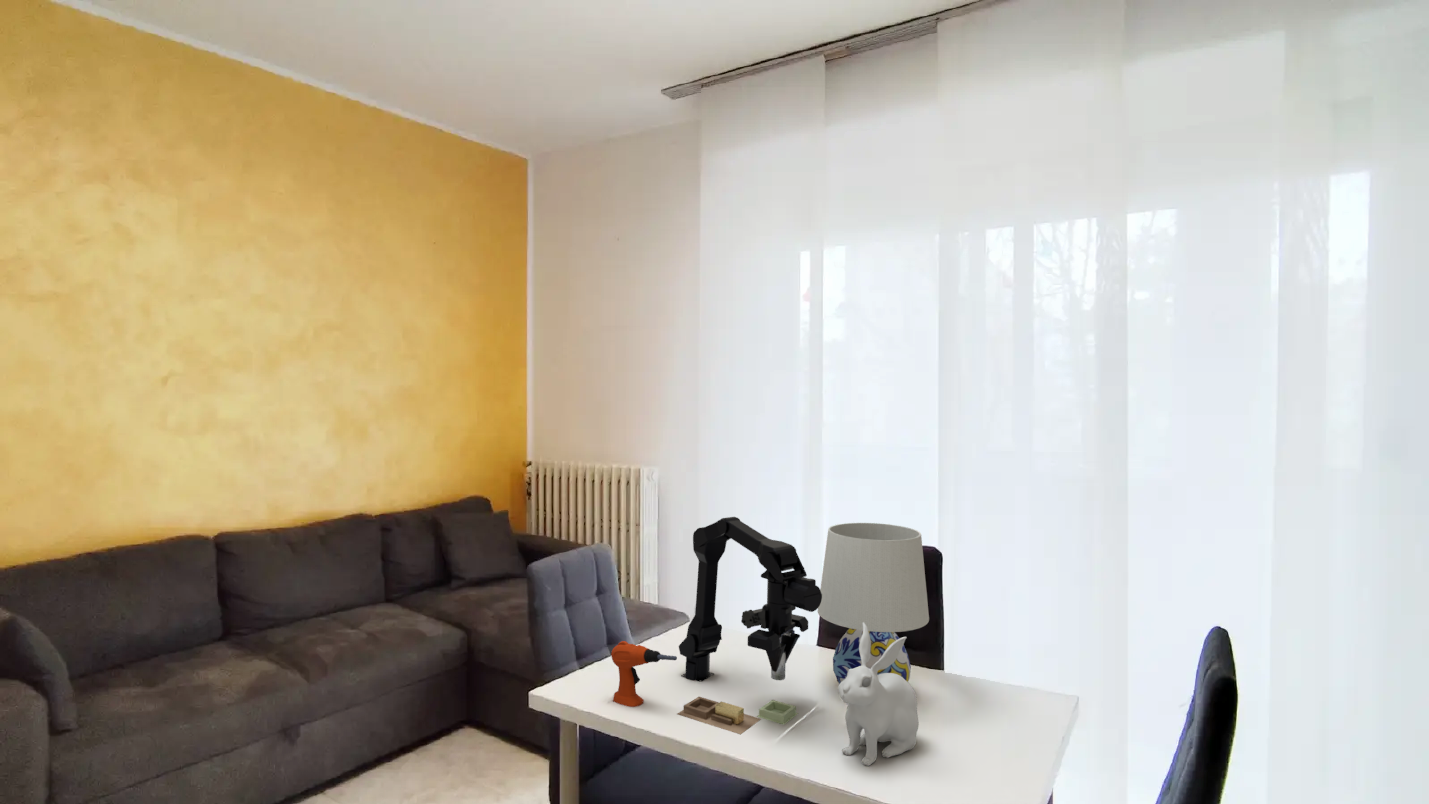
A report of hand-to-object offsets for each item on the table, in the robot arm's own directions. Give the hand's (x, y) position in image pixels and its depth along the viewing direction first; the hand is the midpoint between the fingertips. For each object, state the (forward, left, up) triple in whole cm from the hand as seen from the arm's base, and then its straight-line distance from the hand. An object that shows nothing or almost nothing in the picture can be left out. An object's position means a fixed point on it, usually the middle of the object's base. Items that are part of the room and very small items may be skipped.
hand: (778, 668), depth 166 cm
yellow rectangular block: (+8, -8, -10) cm, 15 cm away
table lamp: (-26, +12, -11) cm, 31 cm away
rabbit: (+2, +24, -11) cm, 27 cm away
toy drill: (+14, -28, -11) cm, 33 cm away
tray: (0, 0, -11) cm, 11 cm away
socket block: (+9, -10, -11) cm, 17 cm away
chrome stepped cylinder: (0, 0, -2) cm, 2 cm away
